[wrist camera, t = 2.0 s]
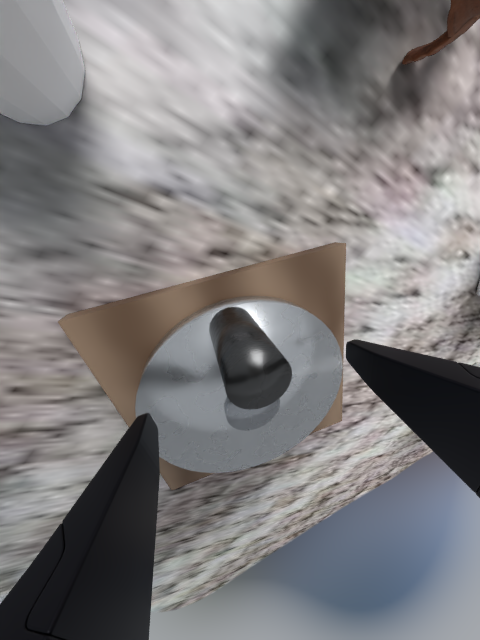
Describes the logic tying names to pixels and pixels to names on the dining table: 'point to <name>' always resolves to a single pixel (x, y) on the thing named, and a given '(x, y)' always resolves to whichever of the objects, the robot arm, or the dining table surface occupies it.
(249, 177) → the dining table surface
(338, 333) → the walnut board
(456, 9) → the pottery mug
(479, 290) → the medicine bottle
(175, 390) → the handwheel
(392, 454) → the dining table surface
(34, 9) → the shot glass
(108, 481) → the robot arm
